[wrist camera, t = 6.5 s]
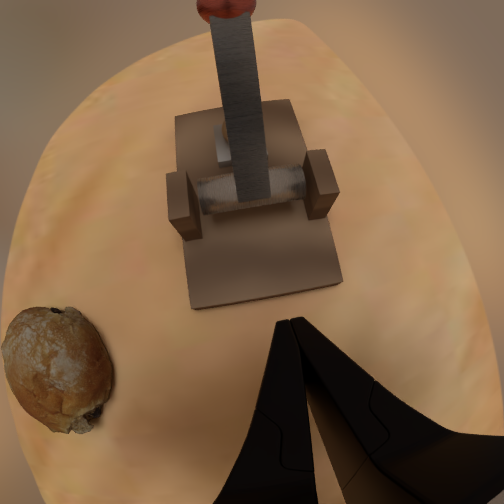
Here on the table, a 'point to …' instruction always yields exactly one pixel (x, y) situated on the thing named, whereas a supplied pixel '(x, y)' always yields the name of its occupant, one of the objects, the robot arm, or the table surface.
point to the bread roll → (57, 368)
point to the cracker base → (251, 216)
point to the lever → (242, 119)
